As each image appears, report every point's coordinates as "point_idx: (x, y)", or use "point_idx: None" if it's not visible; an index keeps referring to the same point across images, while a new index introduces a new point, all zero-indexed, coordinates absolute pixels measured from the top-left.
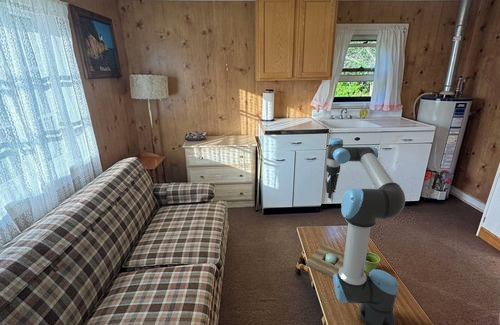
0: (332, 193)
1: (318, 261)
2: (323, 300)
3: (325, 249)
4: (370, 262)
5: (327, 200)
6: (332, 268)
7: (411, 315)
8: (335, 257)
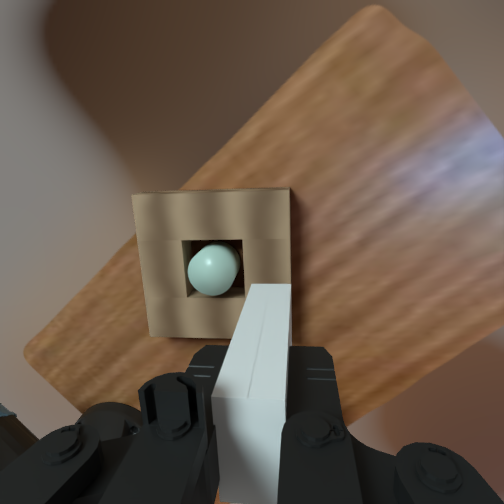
0: (222, 499)
1: (159, 237)
2: (57, 315)
3: (256, 221)
4: None
5: (247, 296)
6: (164, 299)
7: None
8: (218, 290)
